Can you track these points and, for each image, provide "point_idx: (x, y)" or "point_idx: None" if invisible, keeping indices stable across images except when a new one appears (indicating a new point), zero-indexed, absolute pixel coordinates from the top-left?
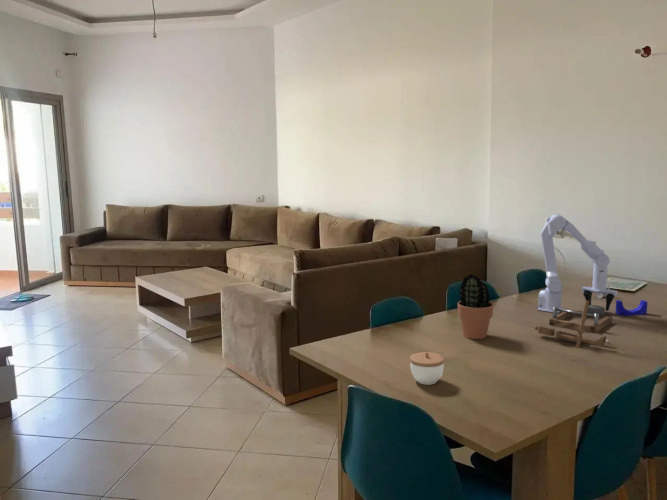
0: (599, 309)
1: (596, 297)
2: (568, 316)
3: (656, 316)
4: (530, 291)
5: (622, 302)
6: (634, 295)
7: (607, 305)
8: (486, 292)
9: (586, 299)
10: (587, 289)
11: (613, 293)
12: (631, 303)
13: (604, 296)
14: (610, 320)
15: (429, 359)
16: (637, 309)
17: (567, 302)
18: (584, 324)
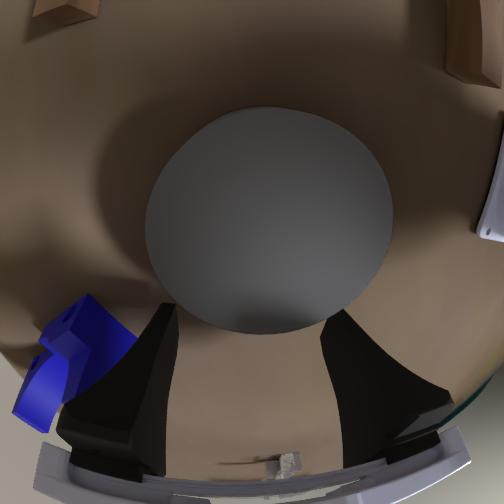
0: (188, 170)
1: (299, 452)
2: (448, 31)
3: (3, 345)
4: (478, 387)
5: (62, 397)
6: (203, 476)
7: (146, 339)
8: None
9: (392, 361)
10: (429, 470)
11: (61, 474)
12: (171, 449)
13: (275, 462)
14: (55, 17)
15: None
16: (50, 378)
17: (418, 373)
18: None
